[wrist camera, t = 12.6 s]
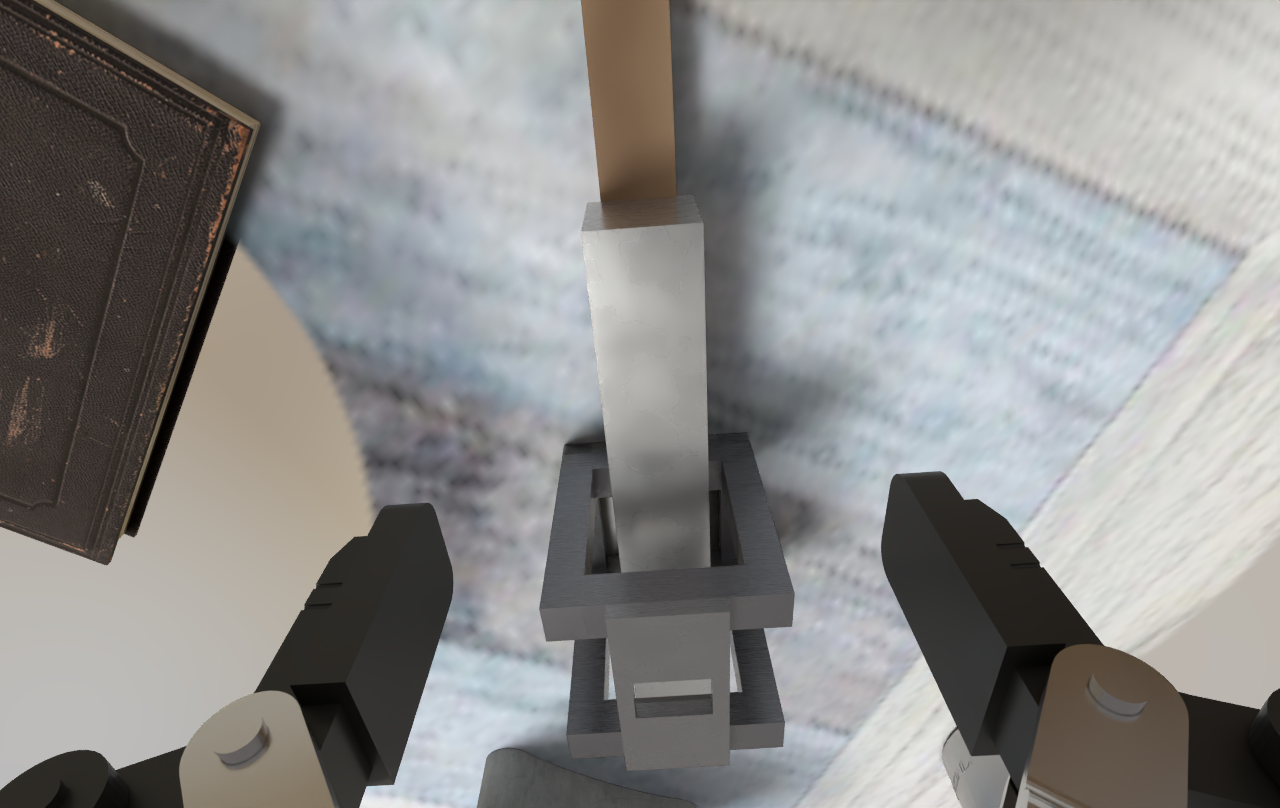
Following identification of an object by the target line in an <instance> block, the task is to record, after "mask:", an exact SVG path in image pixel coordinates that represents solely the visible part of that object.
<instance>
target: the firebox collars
mask: <svg viewBox="0 0 1280 808" xmlns="http://www.w3.org/2000/svg"><path fill="white" fill-rule="evenodd" d="M708 470H709V491H710V490H719V532H720V548H717V549H710V567H704V568H688V569H672V570H657V571H641V572H625V573H621V565H620V557H619V555H608V556H607V552H606V544H605V536H604V529H603V521H602V513H601V506H600V498H603V497H612V489H611V481H610V472H609V464H608V455H607V447H606V442H602V443H587V444H572V445H564V450H563V456H562V463H561V469H560V476H559V483H558V489H557V496H556V503H555V509H554V516H553V522H552V529H551V536H550V542H549V549H548V556H547V562H546V569H545V575H544V582H543V589H542V595H541V602H540V609H539V610H540V614H541V619H542V623H543V628H544V633H545V637H546V642H547V641H564V640H575V643H574V655H573V666H572V678H571V690H570V701H569V713H568V725H567V739H568V744H569V749H570V753H571V758H572V759H581V758H598V757H616V756H625V762H626V769H627V771H636V770H653V769H671V768H688V767H706V766H724V765H729V750H738V749H755V748H773V747H783V739H784V726H785V721H784V717H783V712H782V708H781V704H780V699H779V695H778V690H777V686H776V681H775V677H774V673H773V668H772V664H771V659H770V655H769V651H768V646H767V642H766V637H765V633H764V628H776V627H792V621H793V607H794V594H795V593H794V590H793V586H792V583H791V579H790V576H789V573H788V569H787V566H786V562H785V559H784V556H783V552H782V549H781V546H780V542H779V539H778V535H777V532H776V529H775V525H774V522H773V518H772V515H771V512H770V508H769V505H768V502H767V498H766V495H765V491H764V488H763V485H762V481H761V478H760V474H759V471H758V468H757V464H756V461H755V458H754V454H753V451H752V447H751V444H750V441H749V437H748V434H747V433H735V434H720V435H708ZM730 647H731V653H732V659H733V665H734V671H735V677H736V683H737V689H738V692H732V693H730ZM610 656H611V663H612V670H613V677H614V685H615V692H616V699H614V700H608V694H609V659H610ZM702 679H711V694H698V695H681V696H664V697H647V698H635V693H634V684H635V683H652V682H669V681H686V680H702Z"/></svg>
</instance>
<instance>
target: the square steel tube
mask: <svg viewBox="0 0 1280 808" xmlns="http://www.w3.org/2000/svg"><path fill="white" fill-rule="evenodd" d="M581 235H582V244H583V252H584V261H585V269H586V278H587V286H588V294H589V303H590V311H591V320H592V328H593V337H594V345H595V354H596V362H597V371H598V379H599V388H600V396H601V405H602V413H603V421H604V430H605V438H606V447H607V455H608V464H609V472H610V481H611V489H612V498H613V506H614V515H615V523H616V532H617V540H618V548H619V557H620V565H621V573H625V572H641V571H657V570H672V569H688V568H704V567H710V520H709V470H708V420H707V369H706V319H705V269H704V222H703V220H702V217H701V215H700V212H699V210H698V207H697V204H696V202H695V199H694V197H693V195H682V196H669V197H656V198H643V199H630V200H617V201H604V202H591V203H587V208H586V212H585V217H584V221H583V226H582V230H581ZM635 692H636V698H647V697H664V696H681V695H698V694H711V679H702V680H686V681H669V682H652V683H635Z"/></svg>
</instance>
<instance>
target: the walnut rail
mask: <svg viewBox="0 0 1280 808" xmlns="http://www.w3.org/2000/svg"><path fill="white" fill-rule="evenodd" d="M581 5H582V15H583V26H584V36H585V46H586V56H587V66H588V76H589V86H590V96H591V106H592V117H593V127H594V137H595V147H596V157H597V167H598V177H599V187H600V198H601V202H604V201H617V200H630V199H643V198H656V197H669V196H677V188H676V163H675V138H674V112H673V87H672V61H671V36H670V10H669V0H581Z"/></svg>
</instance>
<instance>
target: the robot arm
mask: <svg viewBox="0 0 1280 808" xmlns="http://www.w3.org/2000/svg"><path fill="white" fill-rule="evenodd" d="M881 553H882V561H883V566H884V570H885V573H886V576H887V578H888V581H889V583H890V585H891V587H892V589H893V591H894V593H895V596H896V598H897V600H898V602H899V604H900V606H901V608H902V610H903V613H904V615H905V617H906V619H907V621H908V623H909V625H910V627H911V630H912V632H913V634H914V636H915V638H916V640H917V642H918V644H919V647H920V649H921V651H922V653H923V655H924V657H925V659H926V661H927V664H928V666H929V668H930V670H931V672H932V674H933V676H934V678H935V681H936V683H937V685H938V687H939V689H940V691H941V693H942V695H943V698H944V700H945V702H946V704H947V706H948V708H949V710H950V712H951V715H952V717H953V719H954V721H955V723H956V725H957V727H958V729H957V730H956V731H955V732H954V733H953V734H952V736H951V737H950V738H949V739H948V740H947V742H946V744H945V746H944V748H943V754H942V759H943V763H944V766H945V768H946V771H947V773H948V775H949V778H950V780H951V782H952V785H953V789H954V791H955V793H956V796H957V798H958V800H959V801H960V803H961V806H962V808H1280V689H1278V690H1276V691H1275V692H1273V693H1272V694H1271V696H1270V697H1269V698H1268V700H1267V701H1266V702H1265V704H1264V705H1263V707H1262V709H1261V710H1260V709H1255V708H1250V707H1245V706H1241V705H1235V704H1231V703H1226V702H1221V701H1216V700H1212V699H1207V698H1202V697H1197V696H1192V695H1188V694H1185V693H1181V692H1178V691H1177V690H1176V689H1175V688H1174V686H1173V685H1172V684H1171V683H1170V682H1169V681H1168V680H1167V679H1166V678H1165V677H1164V676H1163V675H1161V674H1160V673H1159V672H1158V671H1156V670H1155V669H1154V668H1152V667H1151V666H1149V665H1148V664H1146V663H1145V662H1143V661H1141V660H1140V659H1138V658H1136V657H1134V656H1132V655H1130V654H1127V653H1125V652H1123V651H1120V650H1117V649H1114V648H1111V647H1106V646H1104V645H1103V644H1102V643H1101V641H1100V640H1099V639H1098V637H1097V636H1096V635H1095V633H1094V632H1093V631H1092V630H1091V628H1090V627H1089V626H1088V624H1087V623H1086V622H1085V620H1084V619H1083V618H1082V617H1081V615H1080V614H1079V613H1078V611H1077V610H1076V609H1075V608H1074V606H1073V605H1072V604H1071V602H1070V601H1069V600H1068V598H1067V597H1066V596H1065V595H1064V593H1063V592H1062V591H1061V589H1060V588H1059V587H1058V585H1057V584H1056V583H1055V582H1054V580H1053V579H1052V578H1051V576H1050V575H1049V574H1048V573H1047V571H1046V570H1045V569H1044V567H1043V568H1041V567H1040V564H1039V563H1040V562H1039V561H1038V560H1037V558H1036V557H1035V556H1034V554H1033V553H1032V552H1031V551H1030V549H1029V548H1028V547H1025V546H1024V541H1023V540H1022V539H1021V538H1020V536H1019V535H1018V534H1017V532H1016V531H1015V530H1014V528H1013V527H1012V526H1011V525H1010V523H1009V522H1008V521H1007V519H1006V518H1004V517H1003V516H1001V515H1000V514H998V513H997V512H996V511H994V510H993V509H991V508H990V507H988V506H987V505H985V504H984V503H983V502H981V501H980V500H978V499H971V500H964V499H963V498H962V496H961V495H960V493H959V492H958V491H957V489H956V488H955V486H954V485H953V484H952V482H951V481H950V479H949V478H948V477H947V476H946V474H944V473H943V472H940V471H937V472H921V473H906V474H896V475H895V476H894V477H893V478H892V481H891V485H890V490H889V497H888V503H887V509H886V515H885V522H884V528H883V534H882V541H881ZM452 594H453V571H452V566H451V563H450V559H449V556H448V552H447V549H446V546H445V542H444V539H443V536H442V532H441V529H440V526H439V522H438V519H437V516H436V512H435V510H434V508H433V506H432V505H431V504H430V503H417V504H401V505H387V506H385V507H383V508H382V509H381V511H380V513H379V515H378V517H377V518H376V520H375V522H374V524H373V526H372V528H371V530H370V532H369V534H368V536H362V537H354V538H353V539H352V540H351V541H350V542H348V543H347V544H346V545H345V546H344V547H343V548H342V549H341V550H340V551H339V552H338V553H337V554H335V555H334V556H333V557H332V558H331V559H330V561H329V562H328V564H327V566H326V568H325V569H324V571H323V573H322V575H321V577H320V578H319V580H318V582H317V584H316V589H313V591H312V592H311V594H310V596H309V598H308V599H307V601H306V603H305V609H304V610H301V612H300V614H299V615H298V617H297V619H296V621H295V622H294V624H293V626H292V627H291V629H290V631H289V633H288V635H287V636H286V638H285V640H284V642H283V643H282V645H281V647H280V649H279V650H278V652H277V654H276V656H275V657H274V659H273V661H272V663H271V665H270V666H269V668H268V670H267V672H266V673H265V675H264V677H263V679H262V680H261V682H260V684H259V686H258V687H257V689H256V691H255V692H254V693H253V694H250V695H248V696H245V697H243V698H240V699H238V700H236V701H234V702H232V703H230V704H229V705H227V706H225V707H224V708H222V709H221V710H219V711H218V712H217V713H216V714H214V715H213V716H212V717H211V718H209V719H208V720H207V721H206V722H205V723H204V724H203V725H202V726H201V727H200V728H199V730H197V732H196V733H195V734H194V736H193V737H192V738H191V740H190V741H189V743H188V745H187V746H185V747H182V748H180V749H177V750H174V751H171V752H168V753H165V754H162V755H159V756H156V757H153V758H150V759H147V760H144V761H141V762H138V763H136V764H132V765H130V766H127V767H124V768H121V769H118V770H115V769H114V768H113V767H112V766H111V765H110V763H109V762H108V761H107V760H106V759H105V758H104V757H103V756H102V755H101V754H100V753H97V752H95V751H90V750H77V751H71V752H67V753H63V754H60V755H57V756H55V757H52V758H50V759H47V760H45V761H43V762H41V763H39V764H38V765H35V766H34V767H32V768H30V769H29V770H27V771H25V772H24V773H22V774H21V775H19V776H18V777H16V778H15V779H14V780H12V781H11V782H10V783H9V784H7V785H6V786H5V787H4V788H2V789H1V790H0V808H359V806H360V803H361V800H362V797H363V795H364V792H365V789H366V786H378V785H394V782H395V779H396V776H397V772H398V769H399V766H400V763H401V760H402V757H403V753H404V750H405V747H406V744H407V741H408V737H409V734H410V731H411V728H412V725H413V722H414V718H415V715H416V712H417V709H418V706H419V702H420V699H421V696H422V693H423V690H424V687H425V683H426V680H427V677H428V674H429V671H430V667H431V664H432V661H433V658H434V655H435V652H436V648H437V645H438V642H439V639H440V636H441V632H442V629H443V626H444V623H445V620H446V617H447V613H448V610H449V607H450V604H451V600H452Z"/></svg>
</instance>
